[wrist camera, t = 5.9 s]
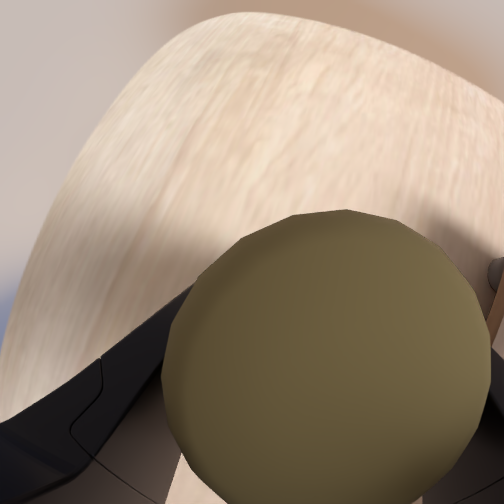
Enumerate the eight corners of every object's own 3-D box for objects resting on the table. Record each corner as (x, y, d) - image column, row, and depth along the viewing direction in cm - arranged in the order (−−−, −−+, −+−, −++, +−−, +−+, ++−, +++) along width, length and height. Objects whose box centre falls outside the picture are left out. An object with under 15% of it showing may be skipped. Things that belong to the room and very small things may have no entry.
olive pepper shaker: (230, 398, 13) (113, 549, 3) (237, 269, 14) (121, 144, 4) (360, 402, 13) (491, 539, 2) (367, 274, 14) (532, 172, 3)
